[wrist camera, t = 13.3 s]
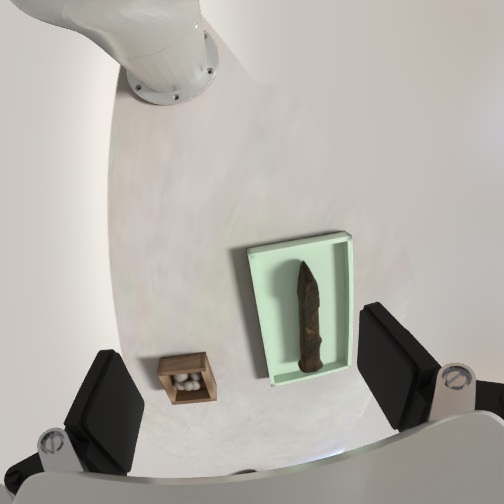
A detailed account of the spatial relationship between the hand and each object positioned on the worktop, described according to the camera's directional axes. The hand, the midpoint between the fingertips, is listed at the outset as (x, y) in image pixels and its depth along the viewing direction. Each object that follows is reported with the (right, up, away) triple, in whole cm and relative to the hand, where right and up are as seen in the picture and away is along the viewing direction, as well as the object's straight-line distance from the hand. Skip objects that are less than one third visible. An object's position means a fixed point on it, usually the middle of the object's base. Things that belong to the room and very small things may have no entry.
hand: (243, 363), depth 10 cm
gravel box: (-11, -17, +37) cm, 42 cm away
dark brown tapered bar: (+8, -6, +34) cm, 36 cm away
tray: (+9, -6, +35) cm, 36 cm away
